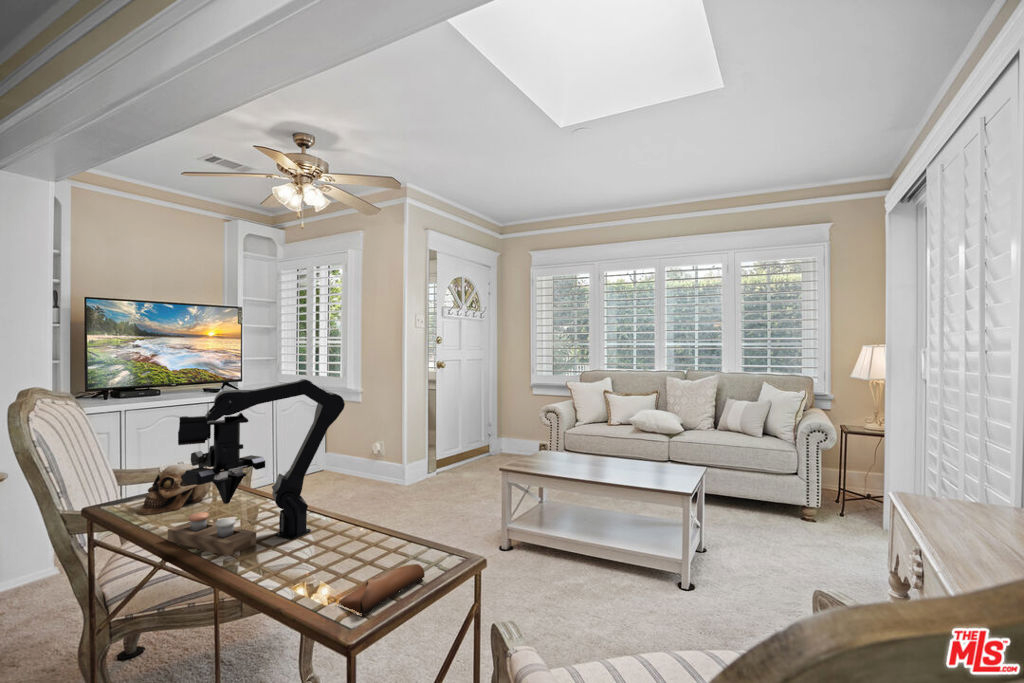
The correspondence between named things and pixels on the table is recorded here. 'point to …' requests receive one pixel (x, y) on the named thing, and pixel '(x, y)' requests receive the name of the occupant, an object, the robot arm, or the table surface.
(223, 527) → the white domed knob
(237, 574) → the table surface
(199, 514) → the terracotta plunger
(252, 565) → the table surface
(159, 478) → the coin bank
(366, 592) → the sunglasses case
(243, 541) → the walnut panel
